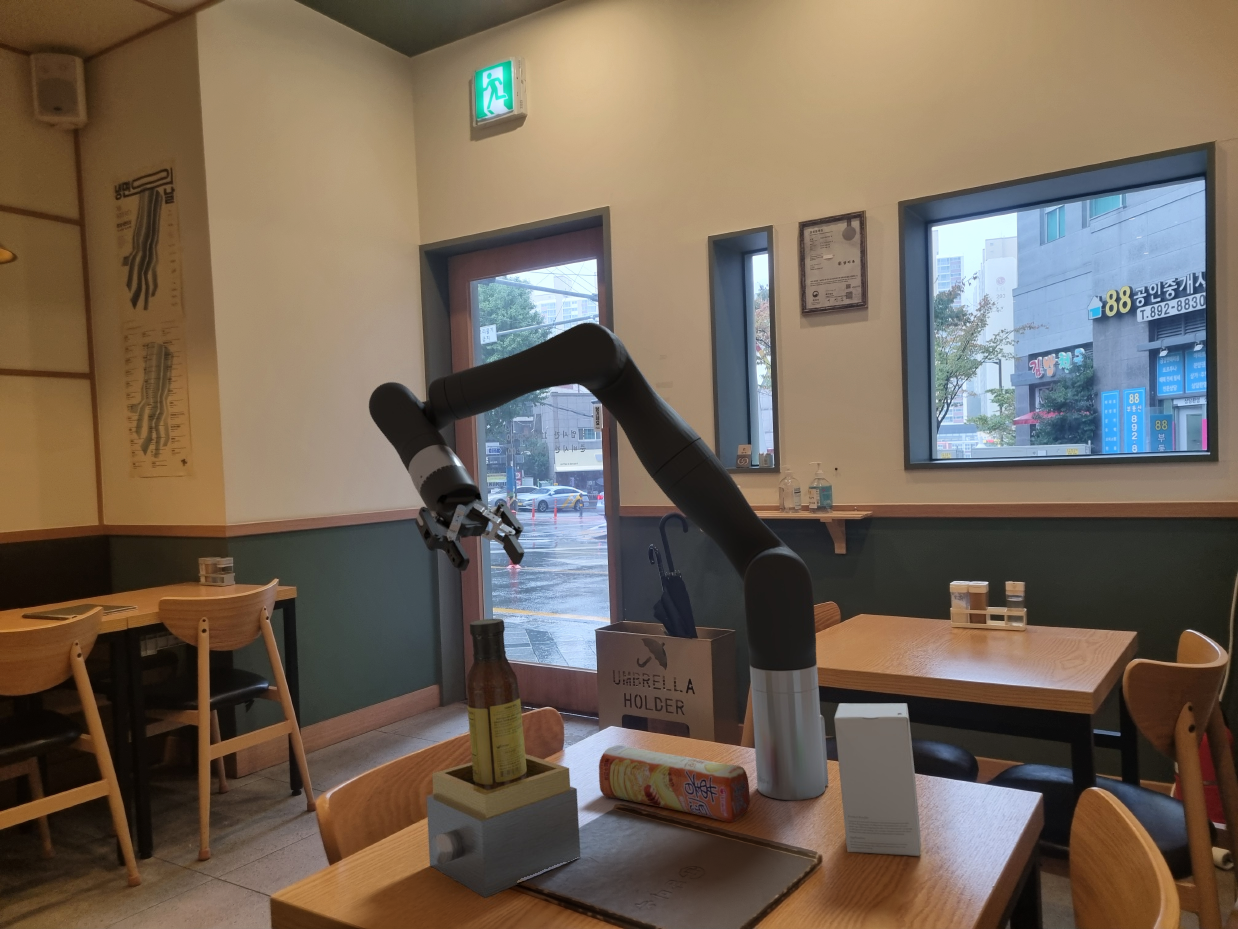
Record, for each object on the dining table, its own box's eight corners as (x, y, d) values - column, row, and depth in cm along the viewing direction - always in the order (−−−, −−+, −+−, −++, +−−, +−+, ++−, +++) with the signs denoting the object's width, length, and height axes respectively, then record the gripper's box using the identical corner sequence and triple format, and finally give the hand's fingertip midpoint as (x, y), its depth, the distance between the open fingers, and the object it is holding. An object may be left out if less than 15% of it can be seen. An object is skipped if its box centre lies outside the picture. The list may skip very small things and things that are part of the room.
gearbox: (521, 831, 107) (517, 748, 107) (580, 858, 98) (575, 767, 98) (414, 871, 97) (410, 779, 98) (469, 904, 88) (464, 803, 89)
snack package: (754, 811, 110) (751, 758, 110) (730, 828, 105) (727, 773, 105) (623, 786, 123) (621, 739, 123) (596, 800, 117) (593, 751, 118)
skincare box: (920, 836, 99) (911, 702, 99) (921, 860, 92) (911, 717, 93) (847, 830, 101) (838, 700, 102) (843, 853, 95) (833, 714, 96)
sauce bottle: (532, 780, 101) (523, 615, 102) (521, 799, 95) (511, 623, 96) (479, 781, 102) (471, 617, 103) (464, 800, 96) (456, 625, 97)
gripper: (406, 464, 114) (455, 548, 105) (494, 462, 123) (547, 538, 114) (390, 505, 118) (437, 589, 109) (477, 499, 127) (527, 577, 118)
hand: (493, 563), depth 111 cm, fingers open, 8 cm apart
